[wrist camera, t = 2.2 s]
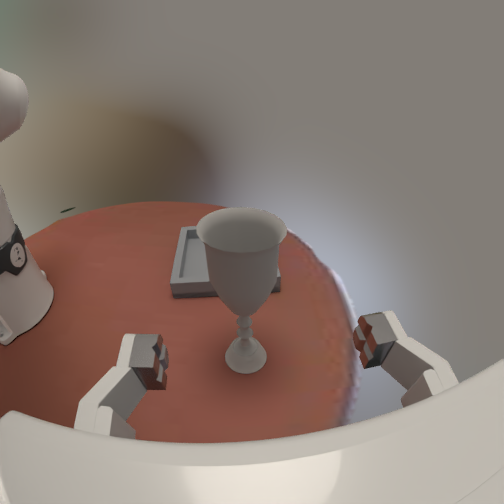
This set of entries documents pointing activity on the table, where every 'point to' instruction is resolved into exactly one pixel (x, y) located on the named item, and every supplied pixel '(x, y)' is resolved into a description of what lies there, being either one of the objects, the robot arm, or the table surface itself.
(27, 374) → the table surface
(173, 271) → the tray
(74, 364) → the table surface
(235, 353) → the chalice
